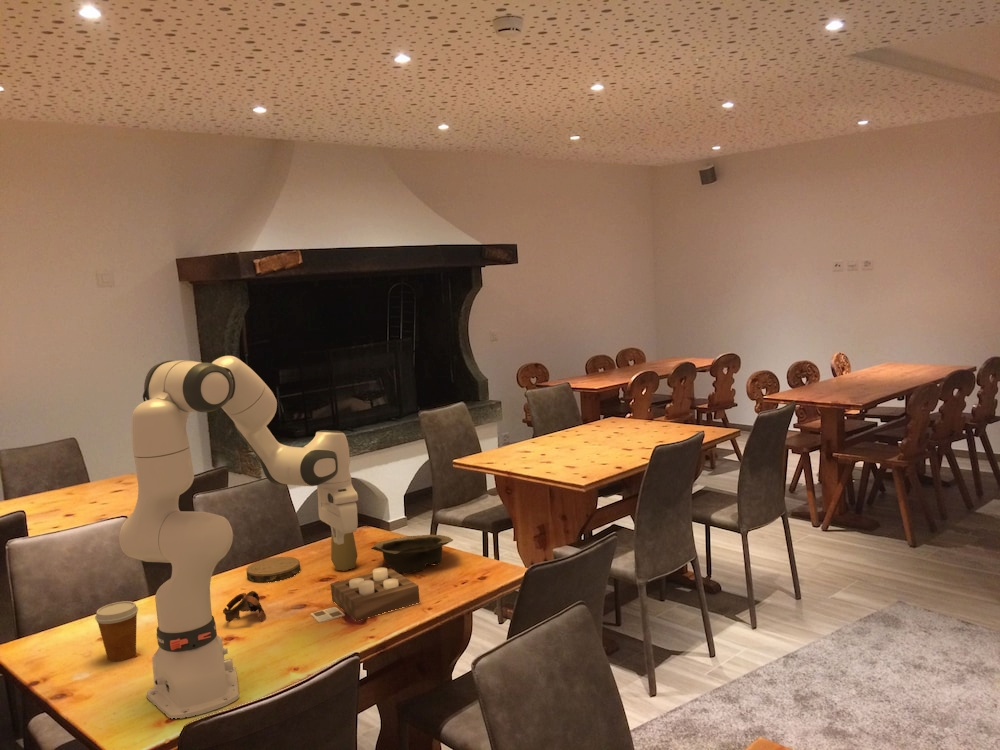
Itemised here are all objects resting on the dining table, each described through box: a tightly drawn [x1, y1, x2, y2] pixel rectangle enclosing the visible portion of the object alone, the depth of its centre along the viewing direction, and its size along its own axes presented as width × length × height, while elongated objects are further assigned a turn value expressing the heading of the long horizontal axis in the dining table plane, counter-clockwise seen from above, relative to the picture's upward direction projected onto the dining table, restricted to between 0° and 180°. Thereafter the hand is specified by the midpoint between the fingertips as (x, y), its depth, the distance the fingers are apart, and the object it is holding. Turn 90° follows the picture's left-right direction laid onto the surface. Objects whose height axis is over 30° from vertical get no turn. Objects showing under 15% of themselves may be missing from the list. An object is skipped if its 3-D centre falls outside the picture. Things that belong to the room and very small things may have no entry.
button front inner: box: [358, 580, 375, 596], centre depth 217 cm, size 4×4×5 cm
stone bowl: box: [371, 534, 454, 574], centre depth 251 cm, size 25×25×9 cm
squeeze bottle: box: [330, 532, 358, 571], centre depth 251 cm, size 8×8×18 cm
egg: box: [349, 577, 364, 589], centre depth 223 cm, size 4×4×5 cm
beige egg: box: [372, 567, 388, 583], centre depth 226 cm, size 4×4×5 cm
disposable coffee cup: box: [94, 600, 139, 662], centre depth 198 cm, size 10×10×12 cm
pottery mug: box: [222, 590, 267, 623], centre depth 216 cm, size 12×10×8 cm
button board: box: [330, 568, 421, 622], centre depth 222 cm, size 18×18×5 cm
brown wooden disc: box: [245, 556, 301, 584], centre depth 252 cm, size 16×16×3 cm
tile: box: [310, 606, 346, 624], centre depth 215 cm, size 7×7×1 cm
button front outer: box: [383, 579, 399, 590], centre depth 220 cm, size 4×4×5 cm
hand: (338, 543), depth 214 cm, fingers closed
